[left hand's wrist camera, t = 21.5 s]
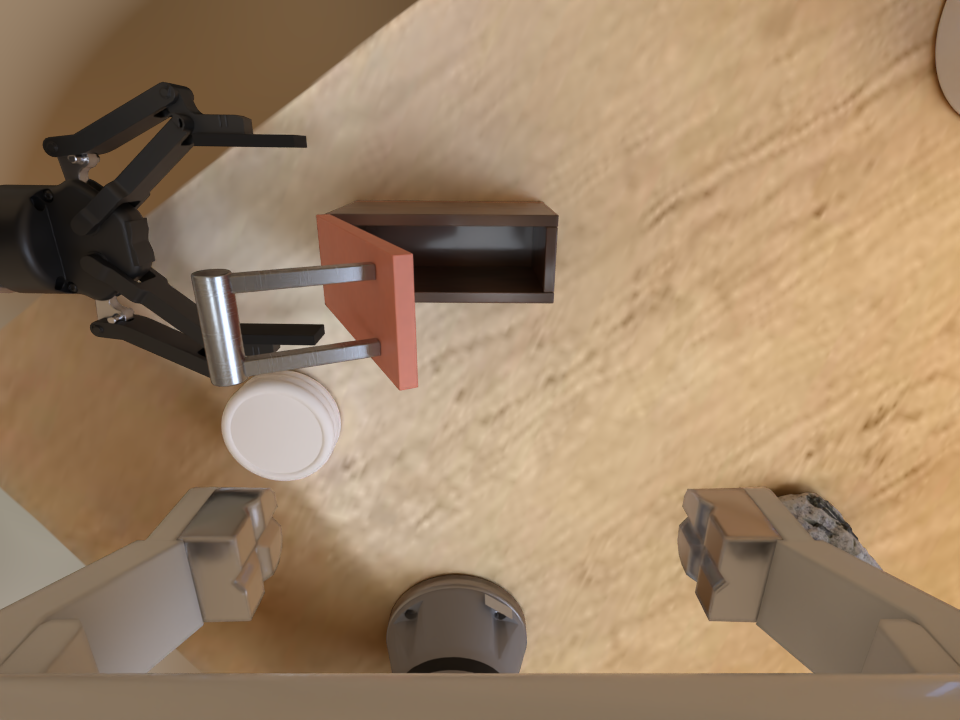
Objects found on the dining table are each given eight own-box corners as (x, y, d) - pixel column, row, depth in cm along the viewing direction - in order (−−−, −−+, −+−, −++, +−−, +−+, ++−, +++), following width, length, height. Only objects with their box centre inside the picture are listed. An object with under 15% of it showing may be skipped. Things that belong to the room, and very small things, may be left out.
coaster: (338, 469, 53) (329, 490, 49) (235, 454, 52) (219, 475, 49) (346, 376, 49) (336, 392, 46) (235, 360, 49) (217, 375, 45)
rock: (721, 512, 54) (755, 564, 48) (821, 471, 53) (870, 519, 46) (765, 607, 59) (801, 666, 53) (858, 573, 58) (907, 629, 51)
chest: (542, 201, 44) (558, 214, 35) (539, 273, 46) (553, 303, 37) (356, 200, 44) (324, 213, 35) (361, 272, 46) (333, 302, 37)
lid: (413, 253, 22) (187, 271, 18) (418, 387, 24) (216, 425, 20) (329, 214, 35) (188, 220, 31) (338, 303, 37) (206, 318, 33)
